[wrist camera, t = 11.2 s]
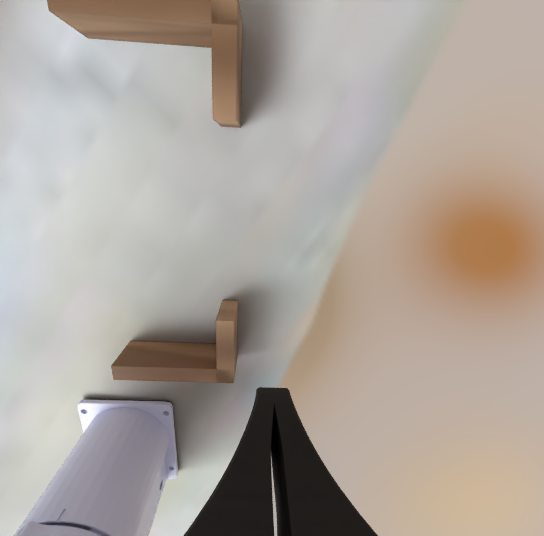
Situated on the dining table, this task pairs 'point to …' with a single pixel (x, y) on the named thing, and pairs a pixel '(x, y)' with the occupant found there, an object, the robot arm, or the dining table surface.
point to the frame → (226, 112)
